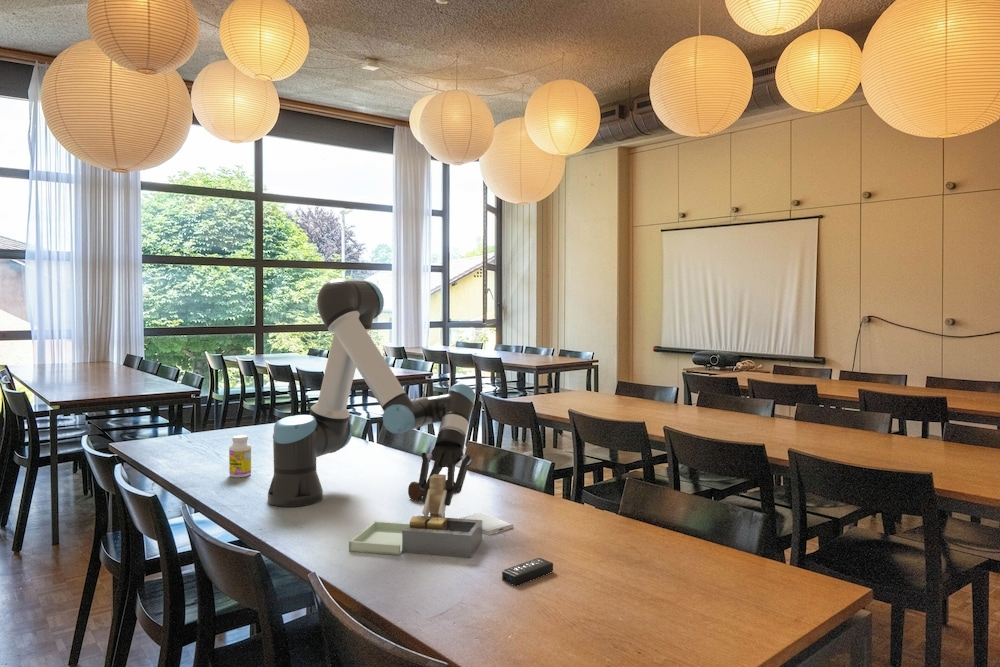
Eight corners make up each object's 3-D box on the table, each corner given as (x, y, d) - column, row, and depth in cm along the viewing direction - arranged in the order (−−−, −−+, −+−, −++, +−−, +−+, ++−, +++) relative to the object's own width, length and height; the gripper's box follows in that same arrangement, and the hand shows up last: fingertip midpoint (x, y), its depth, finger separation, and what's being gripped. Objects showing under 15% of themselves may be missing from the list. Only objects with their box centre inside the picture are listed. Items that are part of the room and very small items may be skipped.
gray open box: (402, 552, 154) (402, 530, 153) (418, 536, 164) (417, 515, 164) (470, 557, 150) (470, 535, 150) (482, 541, 161) (482, 520, 161)
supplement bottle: (224, 476, 220) (224, 437, 219) (239, 472, 226) (239, 433, 225) (241, 479, 217) (240, 439, 216) (255, 474, 223) (255, 435, 223)
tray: (348, 551, 154) (348, 541, 154) (374, 529, 169) (374, 521, 169) (399, 555, 152) (399, 545, 152) (420, 533, 166) (420, 524, 166)
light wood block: (409, 534, 157) (409, 521, 156) (412, 528, 161) (412, 516, 160) (424, 534, 156) (424, 522, 156) (427, 529, 160) (427, 516, 160)
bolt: (454, 497, 205) (414, 505, 194) (445, 486, 208) (405, 493, 197) (461, 482, 202) (421, 490, 192) (451, 471, 205) (412, 478, 195)
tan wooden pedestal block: (428, 529, 168) (428, 477, 168) (433, 524, 173) (434, 473, 172) (441, 530, 168) (441, 478, 167) (446, 525, 172) (446, 474, 172)
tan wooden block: (427, 535, 156) (427, 522, 156) (432, 529, 160) (432, 517, 160) (441, 536, 155) (441, 523, 155) (446, 530, 159) (446, 518, 159)
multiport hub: (554, 573, 143) (554, 563, 143) (516, 588, 135) (516, 576, 135) (539, 567, 146) (539, 557, 146) (501, 581, 139) (501, 570, 139)
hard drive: (457, 518, 175) (488, 530, 166) (482, 512, 180) (513, 523, 171) (457, 524, 175) (488, 537, 166) (482, 518, 180) (513, 529, 171)
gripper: (483, 445, 183) (467, 525, 167) (425, 441, 186) (404, 520, 171) (479, 429, 177) (462, 510, 162) (419, 426, 181) (397, 505, 165)
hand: (432, 515), depth 166 cm, fingers closed on tan wooden pedestal block, 3 cm apart
